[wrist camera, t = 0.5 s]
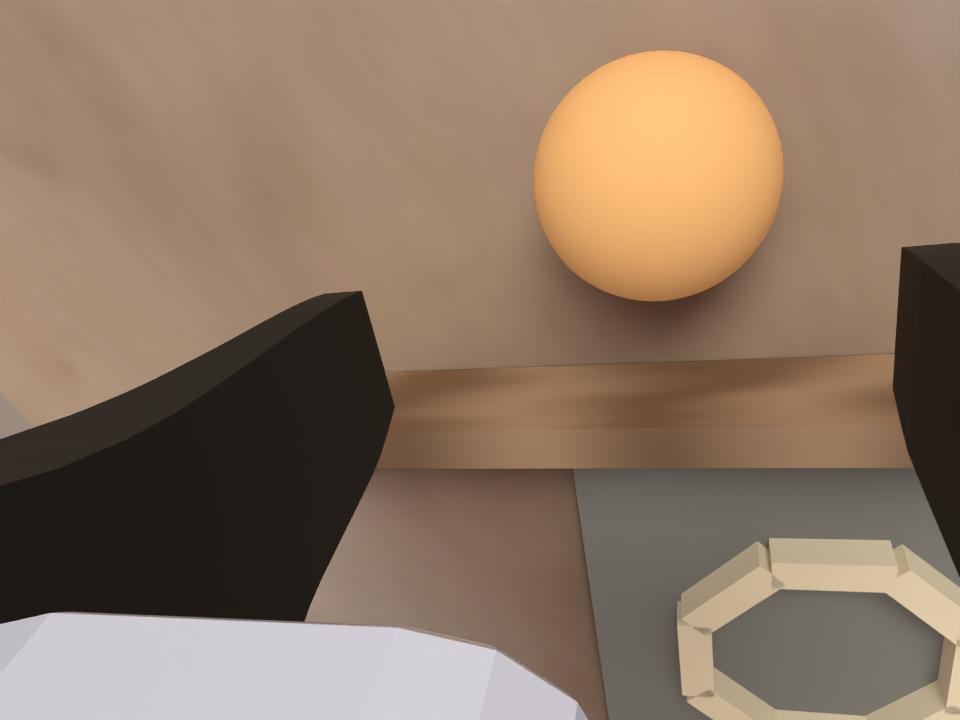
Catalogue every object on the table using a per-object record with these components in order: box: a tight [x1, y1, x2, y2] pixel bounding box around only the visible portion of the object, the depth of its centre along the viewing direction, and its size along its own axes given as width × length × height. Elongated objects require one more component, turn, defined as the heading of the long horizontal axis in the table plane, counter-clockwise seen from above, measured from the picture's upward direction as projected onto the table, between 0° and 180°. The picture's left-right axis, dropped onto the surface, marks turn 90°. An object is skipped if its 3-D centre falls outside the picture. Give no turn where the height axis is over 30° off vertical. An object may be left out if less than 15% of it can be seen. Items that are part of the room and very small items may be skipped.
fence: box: [375, 354, 914, 469], centre depth 21 cm, size 22×1×3 cm, turn 100°
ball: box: [533, 50, 784, 301], centre depth 17 cm, size 5×5×5 cm
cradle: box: [573, 468, 960, 720], centre depth 25 cm, size 14×14×1 cm
